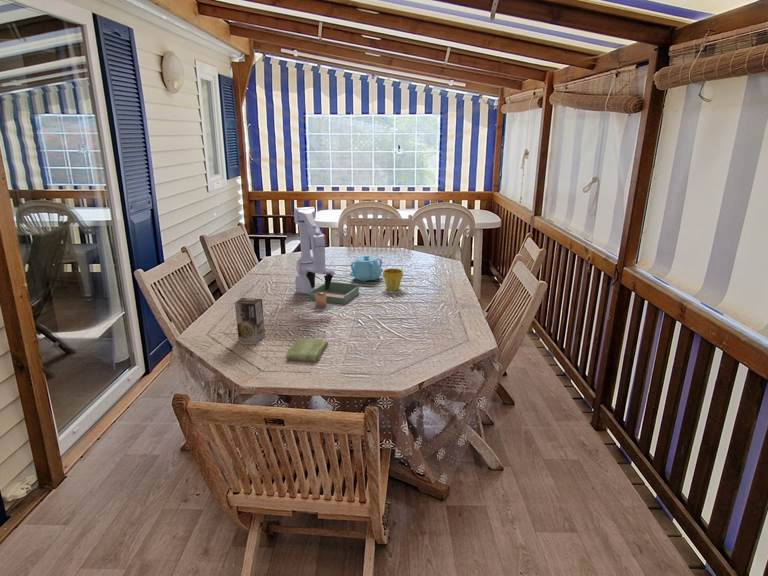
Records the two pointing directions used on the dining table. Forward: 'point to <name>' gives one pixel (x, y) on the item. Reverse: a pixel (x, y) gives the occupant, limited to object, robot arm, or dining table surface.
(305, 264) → the robot arm
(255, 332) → the coffee box
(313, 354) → the washcloth
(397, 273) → the plant pot
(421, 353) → the dining table surface
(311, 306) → the mat
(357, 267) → the decorative pot
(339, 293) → the green shallow tray
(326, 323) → the dining table surface
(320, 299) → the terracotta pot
